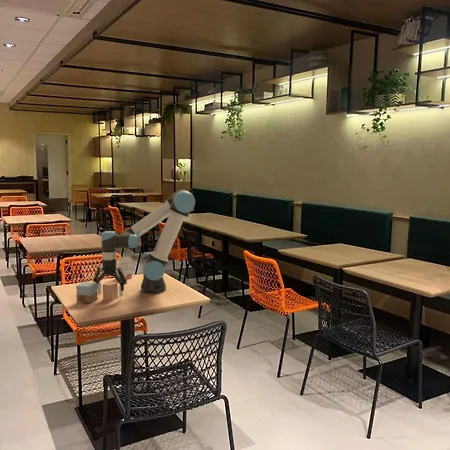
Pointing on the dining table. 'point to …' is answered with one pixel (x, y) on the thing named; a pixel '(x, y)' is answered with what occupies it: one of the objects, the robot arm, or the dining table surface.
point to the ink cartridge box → (125, 266)
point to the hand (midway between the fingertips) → (110, 295)
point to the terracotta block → (110, 291)
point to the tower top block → (86, 288)
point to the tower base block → (87, 298)
